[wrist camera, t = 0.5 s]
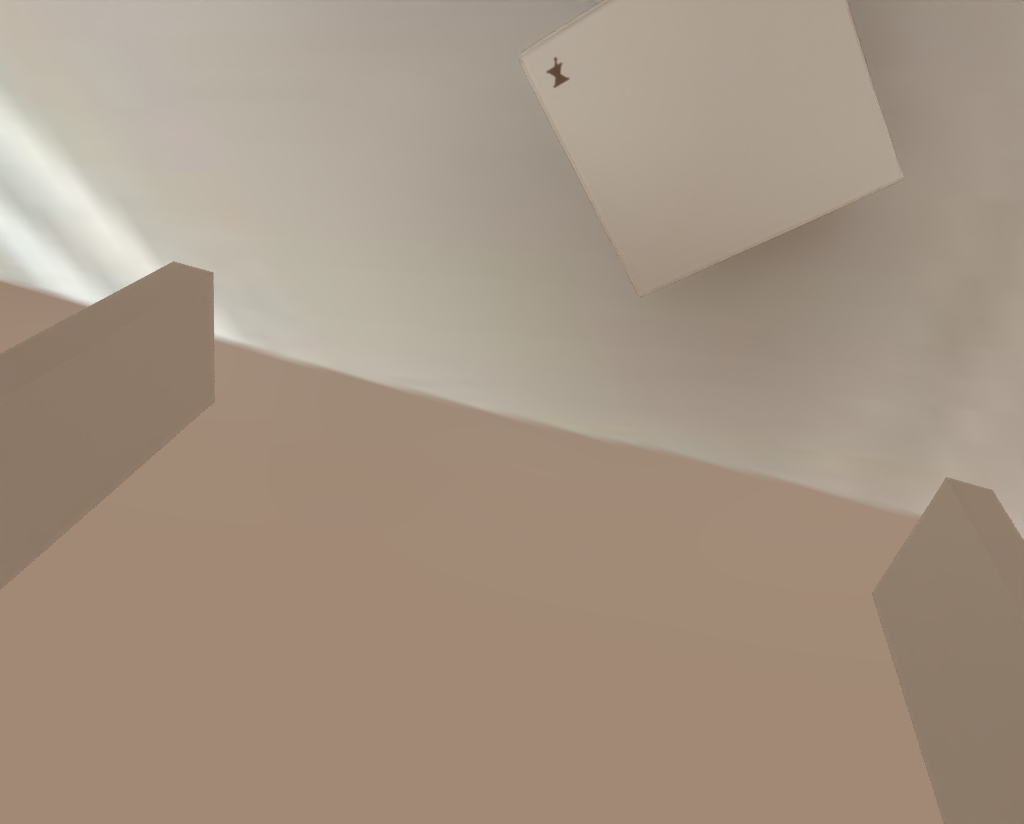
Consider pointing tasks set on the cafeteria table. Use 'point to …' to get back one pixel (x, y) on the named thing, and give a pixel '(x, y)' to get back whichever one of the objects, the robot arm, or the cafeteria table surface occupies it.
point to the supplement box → (711, 123)
